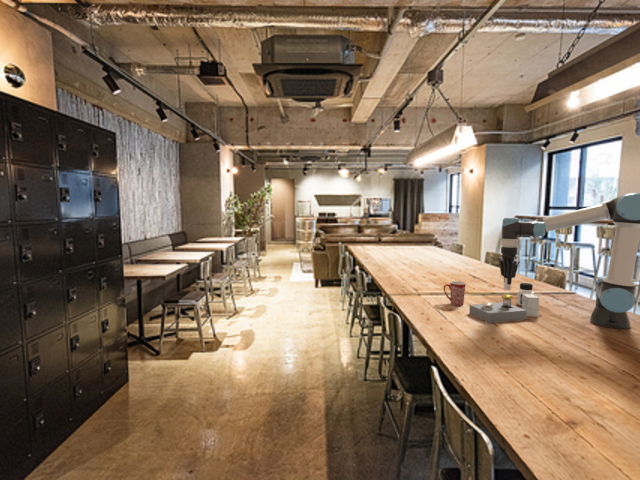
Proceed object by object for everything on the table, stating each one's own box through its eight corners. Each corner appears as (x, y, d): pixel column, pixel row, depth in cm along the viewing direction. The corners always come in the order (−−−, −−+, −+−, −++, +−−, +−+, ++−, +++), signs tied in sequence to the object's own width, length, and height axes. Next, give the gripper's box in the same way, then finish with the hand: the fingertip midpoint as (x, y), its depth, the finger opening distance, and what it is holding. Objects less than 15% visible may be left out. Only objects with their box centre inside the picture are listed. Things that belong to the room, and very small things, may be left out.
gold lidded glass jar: (514, 309, 180) (515, 296, 180) (506, 309, 179) (506, 297, 179) (507, 306, 185) (507, 294, 185) (499, 307, 184) (499, 294, 184)
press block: (526, 319, 176) (526, 310, 176) (489, 323, 172) (489, 313, 171) (503, 310, 192) (503, 302, 191) (469, 313, 187) (469, 304, 187)
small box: (538, 316, 180) (539, 297, 179) (527, 316, 181) (528, 297, 180) (532, 312, 188) (533, 294, 187) (521, 311, 189) (522, 293, 188)
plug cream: (494, 317, 178) (495, 304, 178) (486, 318, 177) (486, 305, 177) (488, 314, 183) (488, 301, 183) (479, 315, 182) (480, 302, 182)
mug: (465, 303, 208) (466, 281, 206) (464, 307, 200) (465, 284, 198) (444, 300, 213) (444, 280, 212) (442, 304, 205) (442, 283, 204)
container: (532, 306, 198) (533, 285, 197) (517, 304, 203) (518, 283, 202) (533, 303, 205) (534, 282, 203) (518, 301, 209) (519, 281, 208)
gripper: (524, 247, 174) (522, 292, 176) (506, 245, 186) (504, 286, 189) (512, 248, 172) (510, 293, 174) (494, 245, 185) (492, 287, 187)
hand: (507, 289), depth 182 cm, fingers closed
